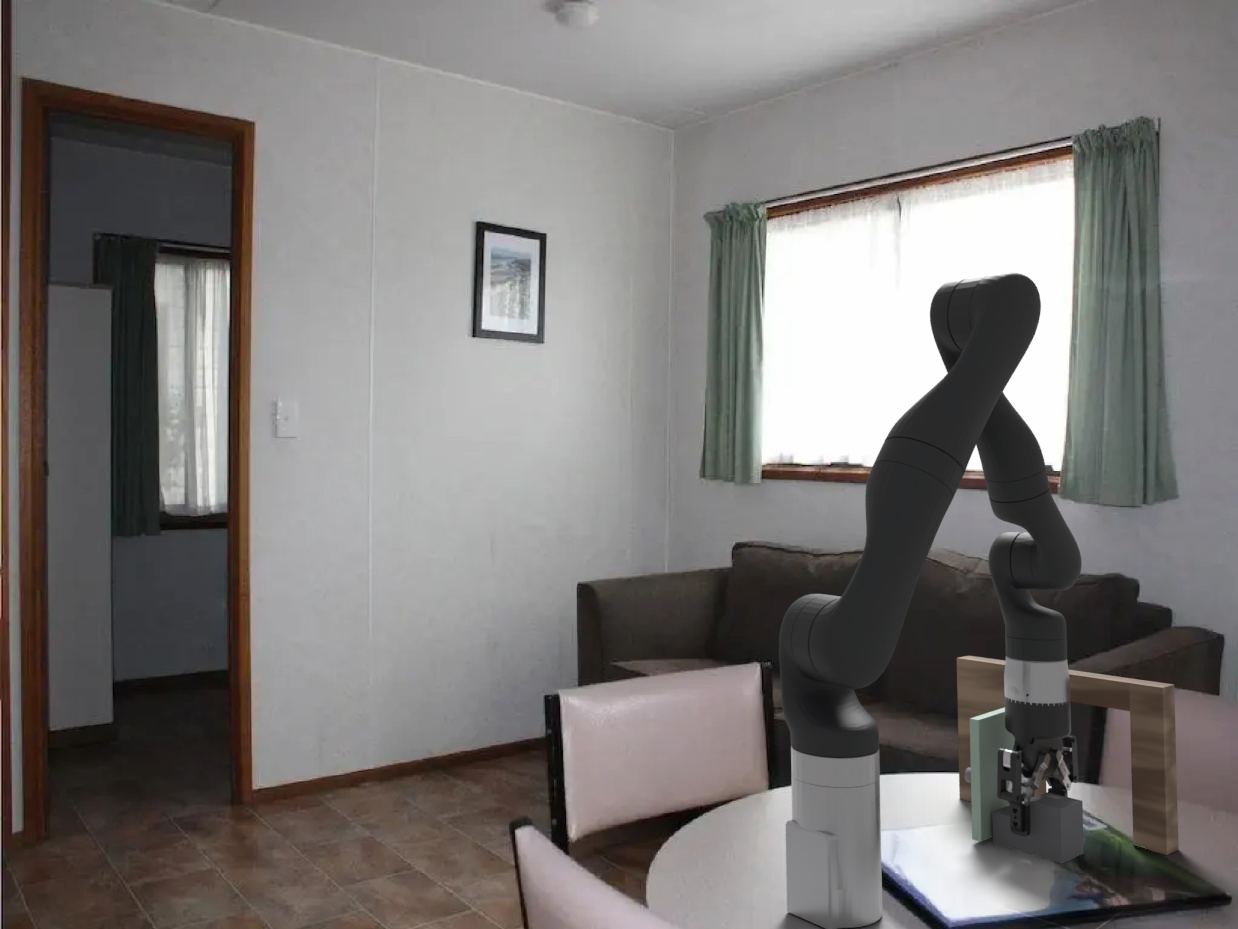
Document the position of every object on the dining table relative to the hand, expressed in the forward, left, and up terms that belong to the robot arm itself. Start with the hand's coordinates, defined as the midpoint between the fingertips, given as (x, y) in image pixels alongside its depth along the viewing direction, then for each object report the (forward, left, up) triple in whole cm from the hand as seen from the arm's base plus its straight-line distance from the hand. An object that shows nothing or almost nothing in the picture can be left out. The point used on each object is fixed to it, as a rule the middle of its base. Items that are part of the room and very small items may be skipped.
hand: (1039, 827), depth 124 cm
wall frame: (+11, +4, -3) cm, 12 cm away
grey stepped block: (0, 0, -3) cm, 3 cm away
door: (+2, +7, -2) cm, 7 cm away
